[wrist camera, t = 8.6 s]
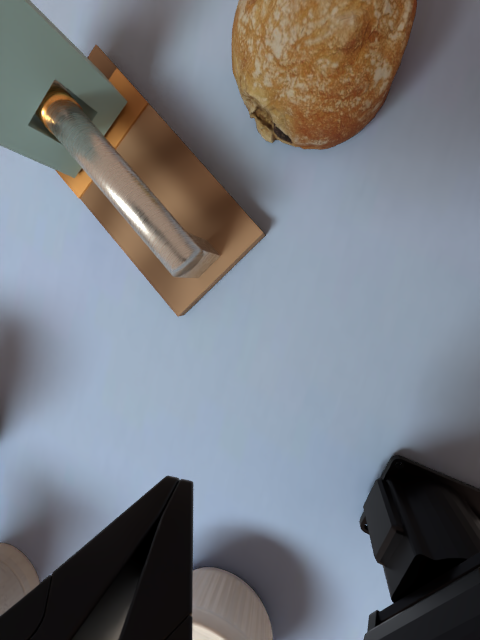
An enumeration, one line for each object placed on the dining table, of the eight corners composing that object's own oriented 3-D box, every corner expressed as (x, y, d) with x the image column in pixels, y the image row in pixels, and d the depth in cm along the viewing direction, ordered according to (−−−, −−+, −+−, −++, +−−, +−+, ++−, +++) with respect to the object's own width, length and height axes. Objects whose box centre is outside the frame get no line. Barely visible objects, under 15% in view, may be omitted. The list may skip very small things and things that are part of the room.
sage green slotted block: (127, 102, 19) (-94, -116, 9) (74, 178, 21) (-158, 75, 11) (102, 72, 20) (-143, -173, 9) (52, 151, 22) (-198, 24, 11)
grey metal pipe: (221, 255, 20) (193, 246, 15) (197, 279, 20) (163, 277, 16) (72, 82, 21) (4, 25, 16) (55, 110, 22) (-15, 64, 17)
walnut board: (265, 235, 20) (262, 232, 18) (183, 315, 22) (176, 316, 21) (105, 55, 21) (94, 42, 20) (46, 149, 23) (32, 142, 22)
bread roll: (242, 124, 22) (188, 115, 16) (292, -79, 16) (233, -217, 10) (353, 169, 21) (339, 178, 15) (458, -37, 14) (509, -173, 8)
